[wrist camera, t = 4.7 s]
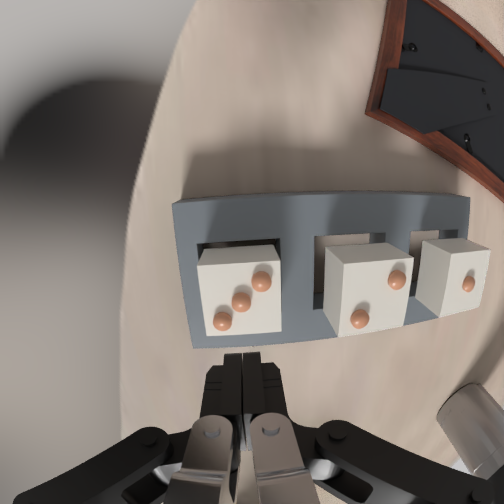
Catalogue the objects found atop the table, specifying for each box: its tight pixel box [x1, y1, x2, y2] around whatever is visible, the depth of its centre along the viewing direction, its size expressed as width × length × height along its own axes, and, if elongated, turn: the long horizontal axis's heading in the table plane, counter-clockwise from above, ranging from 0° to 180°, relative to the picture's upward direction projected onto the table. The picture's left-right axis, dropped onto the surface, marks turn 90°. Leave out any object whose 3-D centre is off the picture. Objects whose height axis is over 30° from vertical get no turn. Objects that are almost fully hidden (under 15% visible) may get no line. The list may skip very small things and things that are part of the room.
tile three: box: [197, 244, 282, 336], centre depth 19 cm, size 5×5×5 cm
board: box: [172, 191, 470, 348], centre depth 23 cm, size 26×12×3 cm, turn 93°
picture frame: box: [365, 0, 504, 203], centre depth 19 cm, size 20×2×25 cm
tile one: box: [415, 238, 491, 318], centre depth 18 cm, size 5×5×5 cm
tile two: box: [323, 243, 414, 337], centre depth 18 cm, size 5×5×5 cm
